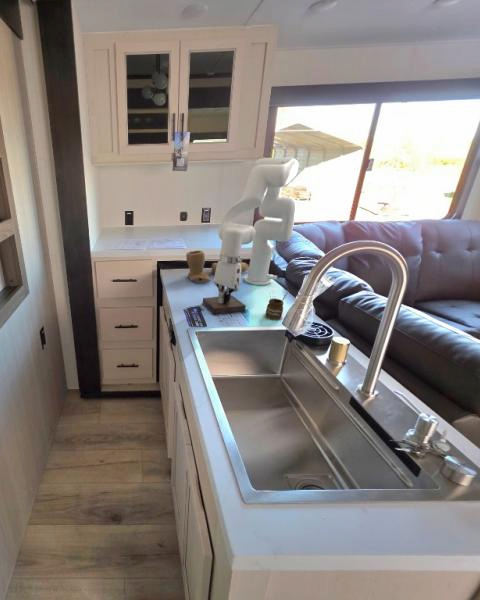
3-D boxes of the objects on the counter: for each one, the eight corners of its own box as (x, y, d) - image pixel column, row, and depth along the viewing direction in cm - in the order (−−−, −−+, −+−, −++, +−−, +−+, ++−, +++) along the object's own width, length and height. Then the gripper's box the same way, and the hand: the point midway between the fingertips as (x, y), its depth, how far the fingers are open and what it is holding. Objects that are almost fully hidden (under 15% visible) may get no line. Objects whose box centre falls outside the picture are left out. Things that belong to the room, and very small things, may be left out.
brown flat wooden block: (231, 301, 140) (232, 294, 139) (244, 312, 130) (245, 305, 129) (202, 304, 138) (202, 297, 136) (213, 315, 128) (214, 308, 126)
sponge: (212, 278, 172) (251, 273, 167) (211, 264, 170) (250, 258, 165) (212, 274, 184) (248, 269, 179) (210, 261, 183) (246, 256, 178)
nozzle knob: (226, 299, 135) (228, 287, 133) (230, 300, 134) (231, 289, 132) (217, 302, 132) (218, 291, 130) (220, 304, 130) (222, 292, 128)
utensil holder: (266, 312, 130) (271, 285, 125) (282, 315, 127) (288, 288, 122) (263, 318, 125) (269, 290, 121) (281, 321, 122) (287, 293, 118)
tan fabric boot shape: (183, 274, 174) (185, 247, 168) (205, 274, 173) (208, 248, 167) (186, 284, 160) (188, 255, 154) (210, 284, 160) (213, 255, 154)
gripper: (252, 261, 121) (245, 305, 129) (219, 253, 133) (214, 293, 141) (240, 265, 117) (234, 309, 125) (207, 256, 129) (203, 297, 137)
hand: (224, 300), depth 133 cm, fingers closed on nozzle knob, 2 cm apart
